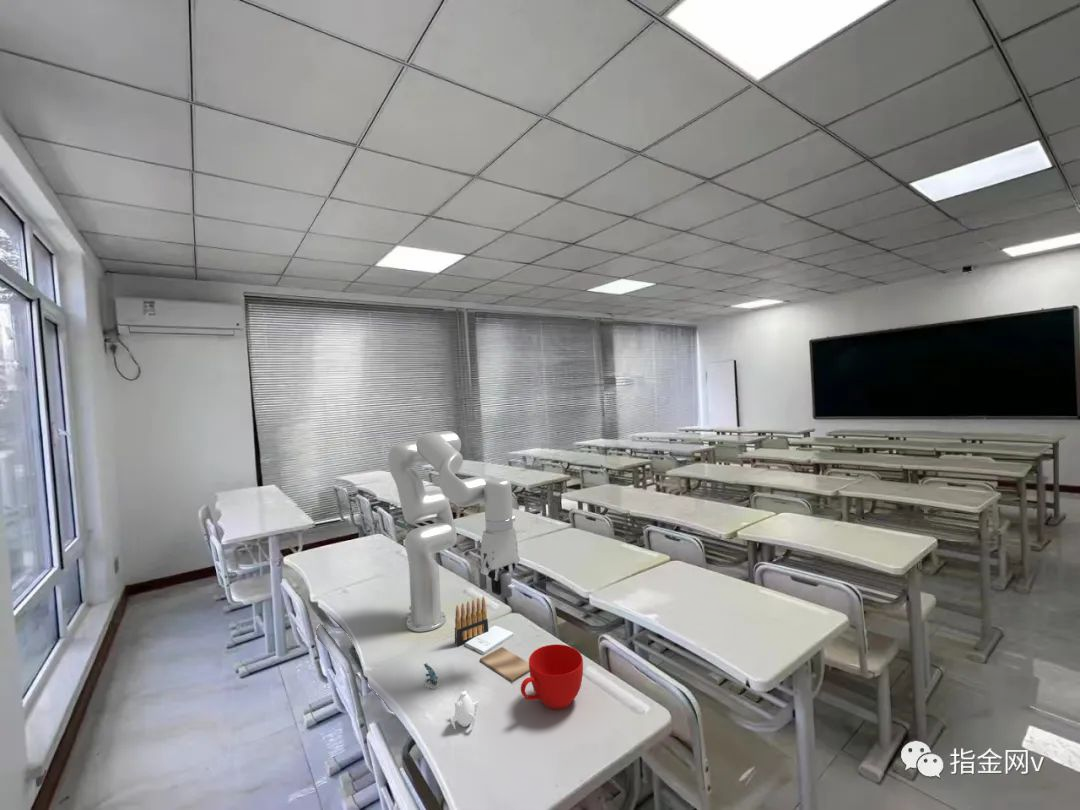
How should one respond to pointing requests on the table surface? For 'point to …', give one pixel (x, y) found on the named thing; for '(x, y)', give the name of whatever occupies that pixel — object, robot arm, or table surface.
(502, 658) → the wood pad
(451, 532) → the robot arm
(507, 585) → the connector
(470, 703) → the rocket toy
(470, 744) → the table surface
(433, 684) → the sculpture
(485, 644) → the external hard drive
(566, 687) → the ceramic cup
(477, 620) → the ammunition clip
